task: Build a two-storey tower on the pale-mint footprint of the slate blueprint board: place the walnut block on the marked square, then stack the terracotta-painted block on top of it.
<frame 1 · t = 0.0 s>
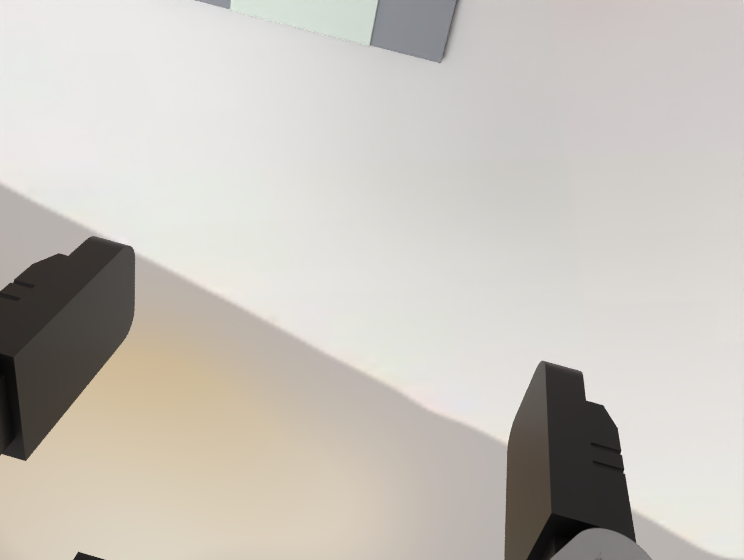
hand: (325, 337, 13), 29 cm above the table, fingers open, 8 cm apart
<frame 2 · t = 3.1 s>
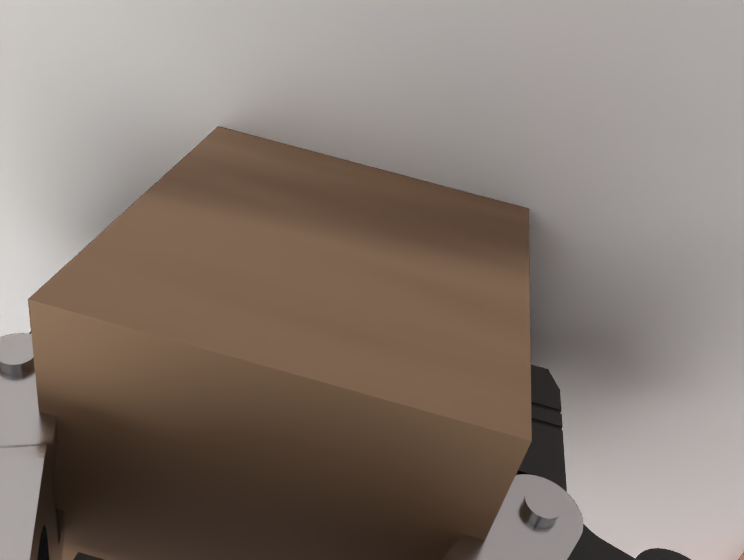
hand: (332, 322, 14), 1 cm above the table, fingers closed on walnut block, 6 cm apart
walnut block: (343, 296, 15), on the table, touching gripper
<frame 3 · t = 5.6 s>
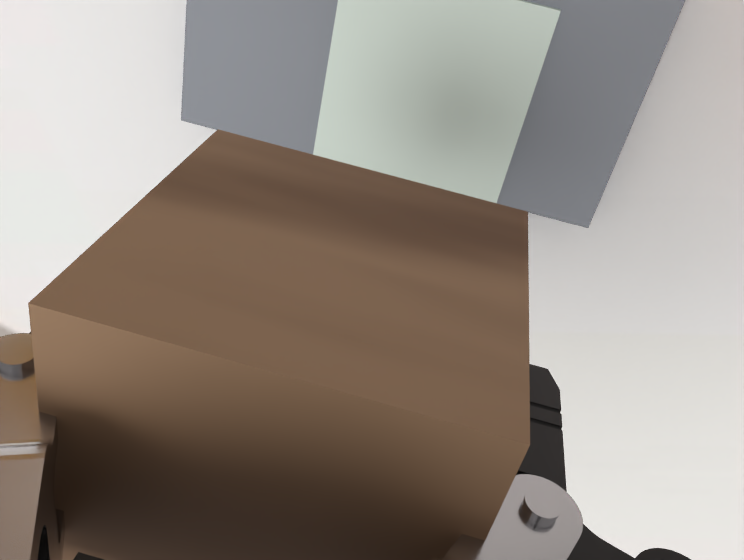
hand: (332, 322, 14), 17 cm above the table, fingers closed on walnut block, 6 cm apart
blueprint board: (417, 25, 27), on the table
walnut block: (343, 298, 15), point 16 cm above the table, touching gripper
when the fingers open (3 cm above the table, at t = 8.2 s): walnut block stays where it is, resting on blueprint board.
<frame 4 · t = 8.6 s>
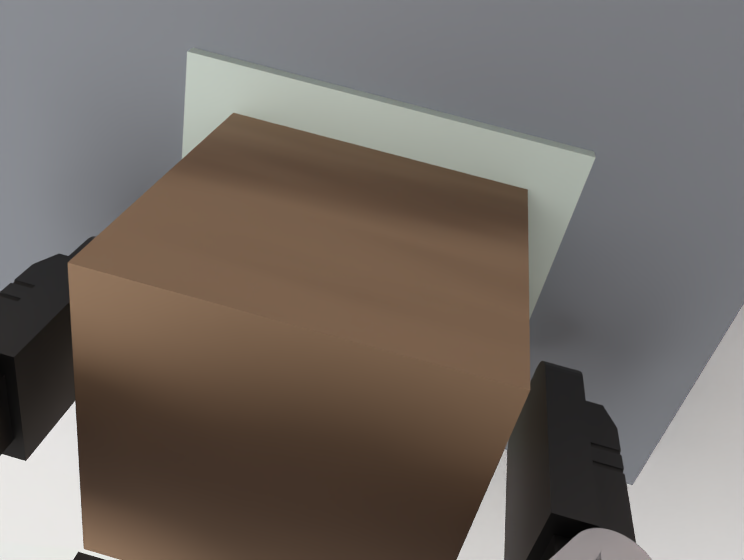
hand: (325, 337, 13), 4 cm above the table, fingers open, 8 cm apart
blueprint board: (335, 160, 15), on the table
walnut block: (351, 275, 15), point 1 cm above the table, touching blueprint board
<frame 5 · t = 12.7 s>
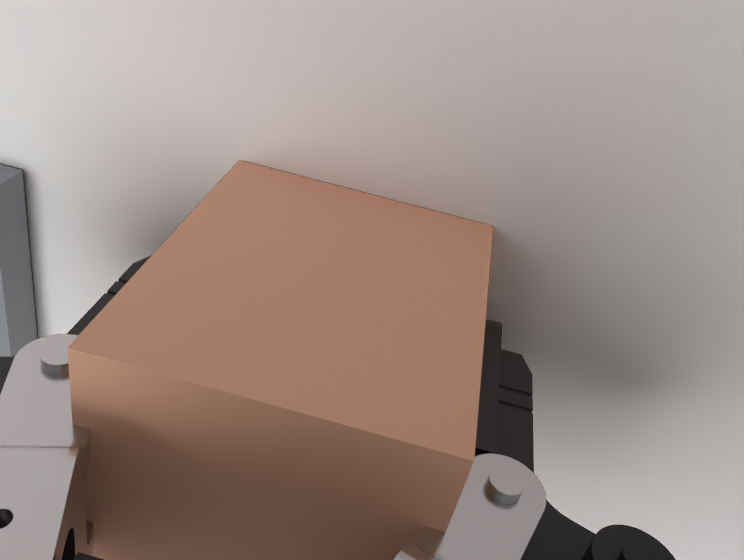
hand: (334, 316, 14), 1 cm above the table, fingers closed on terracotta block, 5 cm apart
terracotta block: (343, 298, 15), on the table, touching gripper
when the fingers open (9 cm above the table, at t = 18.3 s): terracotta block stays where it is, resting on walnut block.
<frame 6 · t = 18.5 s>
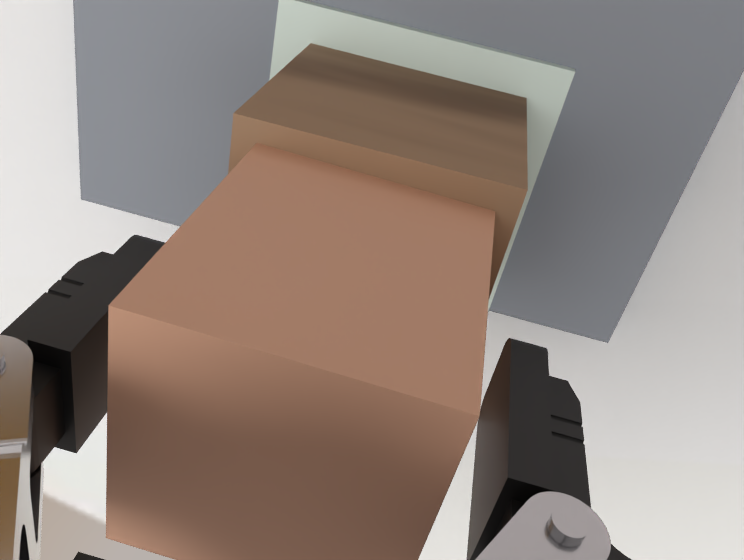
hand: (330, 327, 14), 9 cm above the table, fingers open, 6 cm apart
terracotta block: (350, 277, 15), point 7 cm above the table, touching walnut block
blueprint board: (381, 84, 20), on the table
walnut block: (394, 170, 20), point 1 cm above the table, touching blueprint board, terracotta block
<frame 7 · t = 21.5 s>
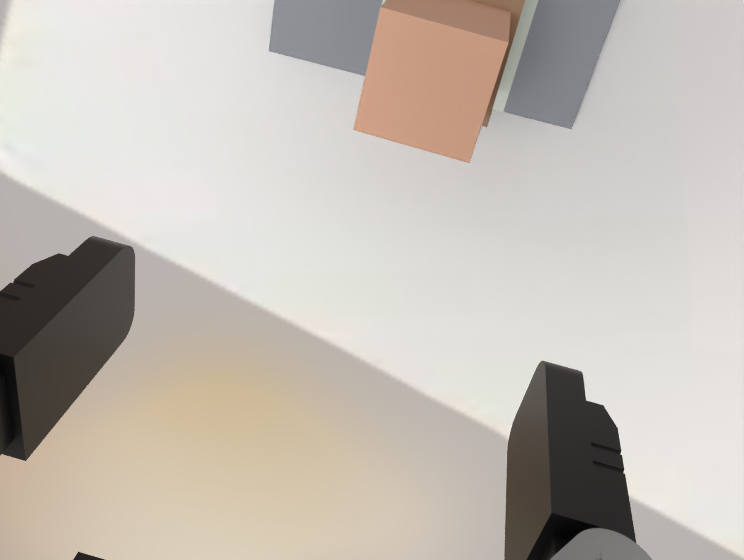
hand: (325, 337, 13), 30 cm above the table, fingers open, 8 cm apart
terracotta block: (441, 51, 32), point 7 cm above the table, touching walnut block
walnut block: (453, 23, 37), point 1 cm above the table, touching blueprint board, terracotta block
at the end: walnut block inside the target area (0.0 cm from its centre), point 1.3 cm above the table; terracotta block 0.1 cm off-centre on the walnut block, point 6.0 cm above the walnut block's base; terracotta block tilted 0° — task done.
